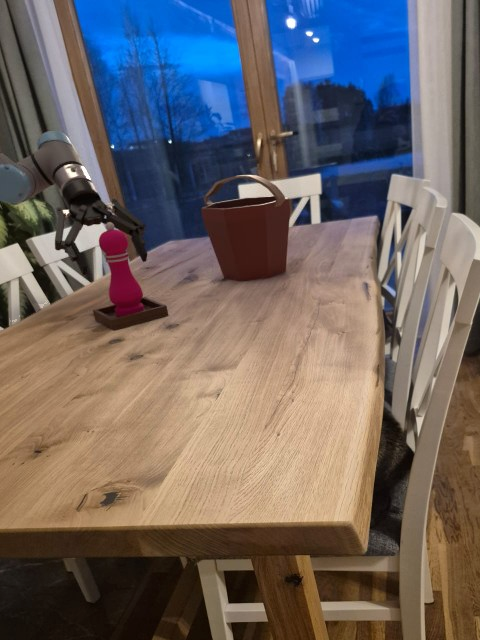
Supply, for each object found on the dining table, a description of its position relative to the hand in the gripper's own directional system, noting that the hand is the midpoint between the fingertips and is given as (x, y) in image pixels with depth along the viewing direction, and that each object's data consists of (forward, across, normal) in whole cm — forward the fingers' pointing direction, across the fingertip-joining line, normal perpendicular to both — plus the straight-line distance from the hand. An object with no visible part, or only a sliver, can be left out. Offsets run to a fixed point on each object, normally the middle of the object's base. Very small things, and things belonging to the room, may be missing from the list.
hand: (116, 264), depth 126 cm
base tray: (+9, 0, +7) cm, 12 cm away
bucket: (+1, +40, +16) cm, 44 cm away
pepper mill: (+9, 0, +7) cm, 11 cm away
